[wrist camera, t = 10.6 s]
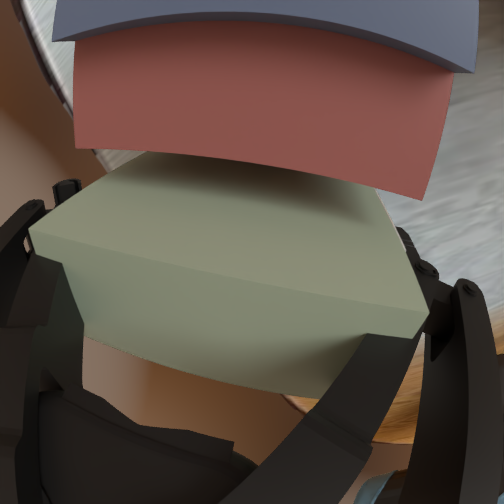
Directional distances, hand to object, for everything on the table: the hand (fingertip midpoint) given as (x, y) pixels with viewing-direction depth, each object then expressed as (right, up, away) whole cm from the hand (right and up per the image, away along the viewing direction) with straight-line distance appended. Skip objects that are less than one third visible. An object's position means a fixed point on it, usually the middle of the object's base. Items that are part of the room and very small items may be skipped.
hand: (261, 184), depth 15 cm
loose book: (+1, +1, +2) cm, 3 cm away
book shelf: (+2, +8, +1) cm, 8 cm away
